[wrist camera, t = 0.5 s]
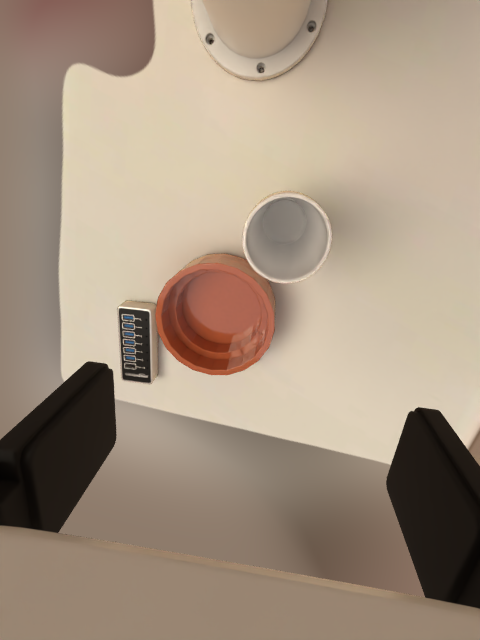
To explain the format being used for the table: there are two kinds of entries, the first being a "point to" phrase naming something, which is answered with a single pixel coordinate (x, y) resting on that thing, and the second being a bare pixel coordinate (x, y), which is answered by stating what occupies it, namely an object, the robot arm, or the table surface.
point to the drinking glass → (287, 237)
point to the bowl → (216, 315)
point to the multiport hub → (138, 341)
